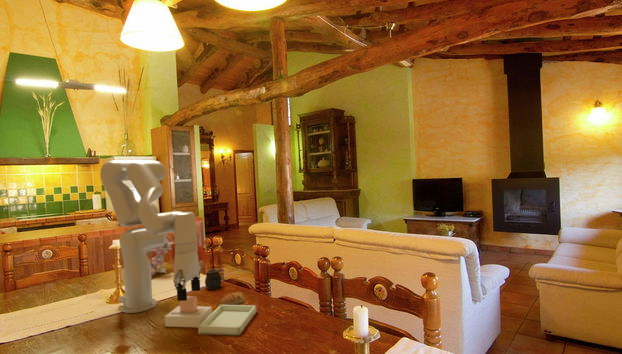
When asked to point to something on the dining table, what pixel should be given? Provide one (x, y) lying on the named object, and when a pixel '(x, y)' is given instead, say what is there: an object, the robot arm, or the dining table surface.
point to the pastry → (232, 299)
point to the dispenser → (187, 317)
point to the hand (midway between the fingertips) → (189, 295)
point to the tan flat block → (189, 305)
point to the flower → (159, 256)
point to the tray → (227, 320)
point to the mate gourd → (213, 279)
